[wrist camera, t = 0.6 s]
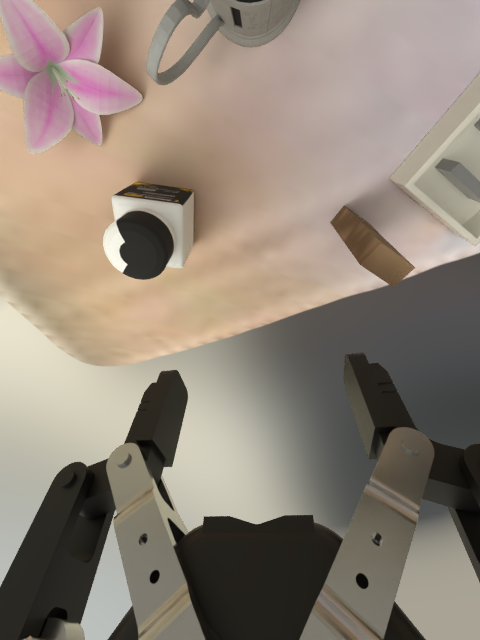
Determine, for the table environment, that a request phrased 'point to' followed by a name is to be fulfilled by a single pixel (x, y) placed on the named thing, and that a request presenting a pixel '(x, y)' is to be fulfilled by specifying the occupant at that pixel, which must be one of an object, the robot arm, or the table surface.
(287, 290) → the table surface
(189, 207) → the medicine bottle
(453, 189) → the plank slot holder tray
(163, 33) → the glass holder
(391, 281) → the wooden plank piece
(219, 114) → the table surface
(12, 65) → the lily
